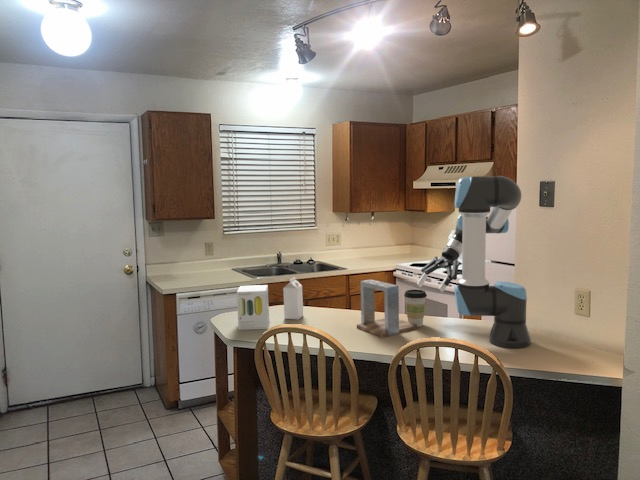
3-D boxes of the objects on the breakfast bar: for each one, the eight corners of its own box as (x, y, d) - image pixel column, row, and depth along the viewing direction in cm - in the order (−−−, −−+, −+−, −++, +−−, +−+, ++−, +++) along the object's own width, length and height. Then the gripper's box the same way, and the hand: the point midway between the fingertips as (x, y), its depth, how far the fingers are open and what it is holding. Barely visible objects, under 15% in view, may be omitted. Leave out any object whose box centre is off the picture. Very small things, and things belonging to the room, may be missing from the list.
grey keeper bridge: (399, 333, 214) (398, 285, 211) (388, 336, 210) (387, 287, 208) (371, 324, 229) (371, 279, 226) (361, 326, 225) (360, 281, 223)
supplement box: (237, 330, 225) (235, 291, 223) (241, 322, 238) (239, 285, 236) (267, 329, 226) (266, 290, 224) (269, 320, 239) (268, 284, 237)
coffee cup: (401, 326, 223) (401, 292, 222) (408, 320, 232) (408, 288, 230) (423, 328, 219) (423, 294, 217) (429, 323, 227) (429, 290, 226)
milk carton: (284, 319, 241) (282, 279, 239) (289, 315, 248) (288, 276, 245) (298, 319, 239) (297, 280, 237) (303, 315, 246) (302, 277, 243)
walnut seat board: (417, 328, 220) (417, 325, 220) (381, 337, 209) (381, 333, 209) (391, 319, 234) (391, 316, 234) (356, 327, 223) (356, 324, 223)
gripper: (478, 259, 227) (454, 297, 220) (437, 253, 247) (414, 288, 241) (470, 249, 223) (446, 287, 217) (429, 243, 244) (406, 278, 238)
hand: (429, 287), depth 229 cm, fingers open, 13 cm apart
